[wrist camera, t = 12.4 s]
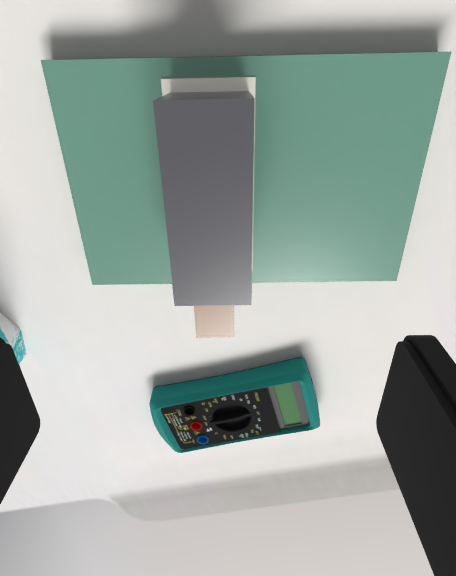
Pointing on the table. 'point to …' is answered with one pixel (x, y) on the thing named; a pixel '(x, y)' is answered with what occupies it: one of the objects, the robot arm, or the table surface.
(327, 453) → the table surface
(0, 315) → the mug
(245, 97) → the block
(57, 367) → the table surface
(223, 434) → the digital multimeter
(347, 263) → the header board
